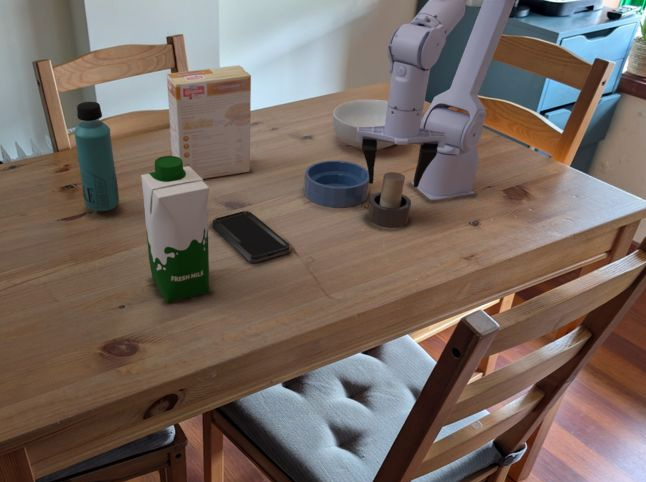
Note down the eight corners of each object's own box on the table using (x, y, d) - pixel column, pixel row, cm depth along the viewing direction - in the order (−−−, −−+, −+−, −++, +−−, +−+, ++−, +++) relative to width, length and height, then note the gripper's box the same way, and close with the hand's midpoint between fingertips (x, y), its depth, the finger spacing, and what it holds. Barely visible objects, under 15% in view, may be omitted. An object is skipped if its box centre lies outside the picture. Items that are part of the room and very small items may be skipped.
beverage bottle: (127, 206, 130) (115, 100, 117) (108, 222, 125) (94, 113, 113) (98, 200, 132) (83, 95, 119) (78, 215, 127) (61, 107, 115)
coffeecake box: (239, 159, 146) (240, 64, 134) (250, 172, 141) (252, 75, 129) (171, 169, 143) (165, 72, 130) (180, 183, 137) (175, 83, 125)
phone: (247, 209, 126) (292, 246, 115) (247, 215, 126) (291, 252, 116) (209, 219, 123) (251, 258, 113) (209, 225, 124) (251, 264, 113)
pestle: (392, 211, 126) (398, 170, 121) (401, 220, 123) (408, 179, 118) (374, 214, 125) (380, 173, 120) (383, 223, 123) (389, 182, 118)
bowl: (351, 178, 139) (353, 157, 136) (378, 205, 129) (381, 183, 127) (294, 186, 136) (295, 164, 133) (318, 214, 127) (320, 192, 124)
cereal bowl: (331, 128, 159) (334, 97, 155) (404, 131, 158) (409, 100, 153) (329, 157, 146) (332, 125, 142) (409, 161, 145) (414, 128, 140)
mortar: (396, 209, 128) (399, 189, 126) (414, 227, 123) (418, 206, 120) (360, 214, 127) (363, 194, 124) (378, 232, 121) (381, 212, 119)
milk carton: (195, 266, 113) (191, 150, 101) (217, 295, 107) (215, 174, 94) (145, 278, 110) (133, 160, 98) (164, 308, 104) (154, 186, 91)
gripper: (359, 111, 110) (350, 189, 118) (453, 116, 107) (436, 196, 116) (361, 96, 115) (352, 172, 124) (450, 101, 113) (434, 178, 121)
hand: (393, 183), depth 120 cm, fingers open, 7 cm apart
